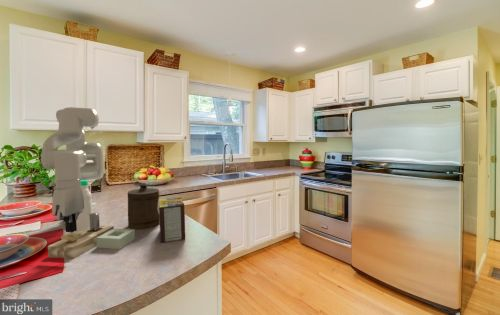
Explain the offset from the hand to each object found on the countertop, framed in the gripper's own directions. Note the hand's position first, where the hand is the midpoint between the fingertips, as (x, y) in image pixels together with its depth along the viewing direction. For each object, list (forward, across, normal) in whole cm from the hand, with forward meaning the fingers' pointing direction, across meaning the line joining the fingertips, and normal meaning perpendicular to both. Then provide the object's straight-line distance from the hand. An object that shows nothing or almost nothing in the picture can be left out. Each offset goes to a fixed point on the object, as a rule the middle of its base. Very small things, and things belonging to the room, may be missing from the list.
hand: (71, 231), depth 94 cm
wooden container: (+9, -32, +11) cm, 35 cm away
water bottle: (+9, -20, -12) cm, 25 cm away
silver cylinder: (+8, -12, 0) cm, 14 cm away
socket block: (+9, -5, 0) cm, 10 cm away
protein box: (+9, -22, +30) cm, 38 cm away
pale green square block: (+9, -8, +12) cm, 17 cm away
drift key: (+6, +1, 0) cm, 7 cm away
